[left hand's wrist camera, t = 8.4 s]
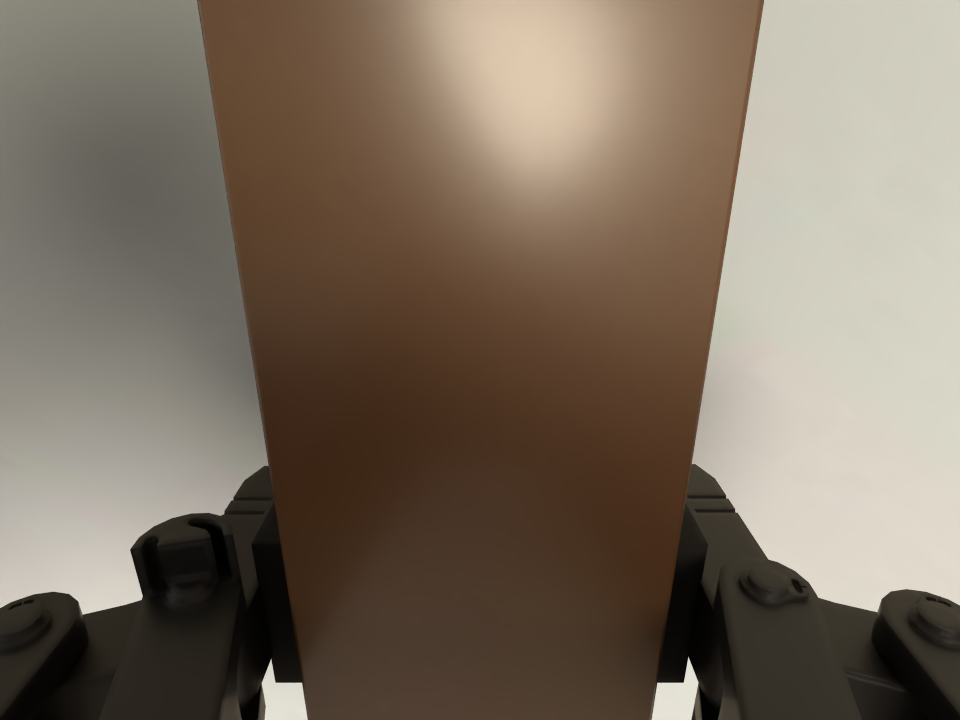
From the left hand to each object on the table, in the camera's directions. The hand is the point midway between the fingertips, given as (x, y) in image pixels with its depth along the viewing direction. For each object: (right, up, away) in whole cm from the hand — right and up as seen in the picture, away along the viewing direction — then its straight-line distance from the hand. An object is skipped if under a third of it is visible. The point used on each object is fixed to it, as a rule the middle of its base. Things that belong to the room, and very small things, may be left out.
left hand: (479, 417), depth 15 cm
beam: (0, +24, -9) cm, 25 cm away
